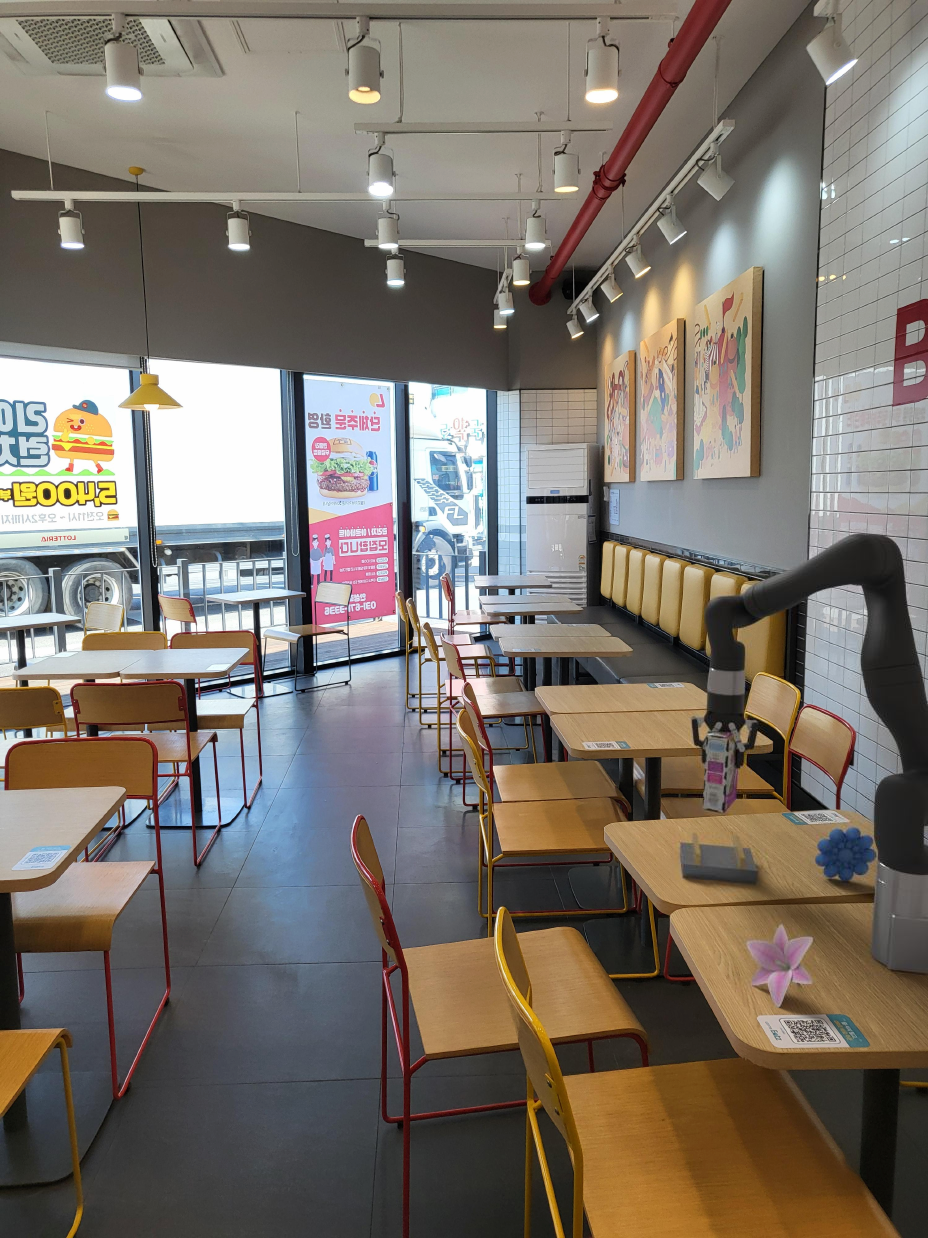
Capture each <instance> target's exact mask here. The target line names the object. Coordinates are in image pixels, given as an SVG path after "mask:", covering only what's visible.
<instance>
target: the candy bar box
mask: <svg viewBox="0 0 928 1238" xmlns="http://www.w3.org/2000/svg"><path fill="white" fill-rule="evenodd" d="M741 730H742V729H741ZM741 730H740V731H739V732H738V734H739V736H740V737H741ZM706 734H707V733H706ZM737 749H738V746H737V744H736V742H735V739H734V734H732V733H730V732H710V733H709V734H707V739H706V756H705V765H704V772H703V773H704V774H703V775H704V777H703V789H702V790H703V792H702V793H703V794H702V795H703V796H702V808H701V810H704V811H709V812H713V813H718V814H726V812H727V810H728V809H729V808H730V807H731V805H732V804H733V803H734V802H736V801H735V800H736V799H737V793H738V792H737V791H738V778H739V769H737V768H736V751H737Z"/></svg>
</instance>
